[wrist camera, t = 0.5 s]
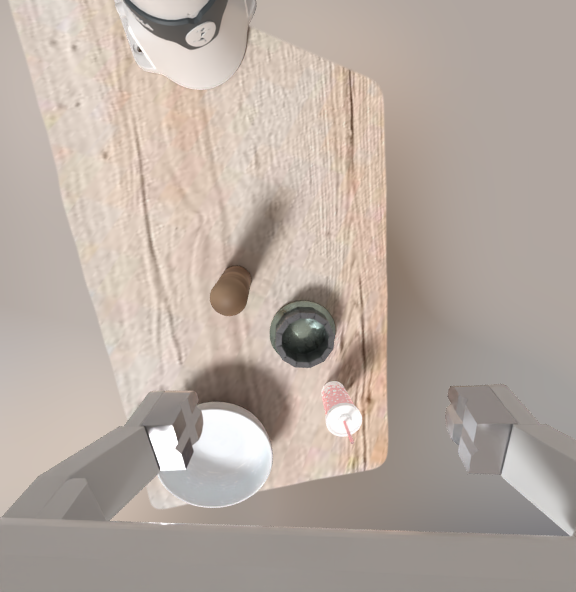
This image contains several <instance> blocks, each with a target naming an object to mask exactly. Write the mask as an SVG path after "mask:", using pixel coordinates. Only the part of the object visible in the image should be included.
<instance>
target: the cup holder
mask: <svg viewBox="0 0 576 592" xmlns="http://www.w3.org/2000/svg"><path fill="white" fill-rule="evenodd" d="M335 332H336V330H335V324H334V321H333V318H332V317H331V315H330V313H329V312H328V311H327V310H326V309H325V308H324V307H323V306H321V305H319V304H317V303H315V302H311V301H296V302H292V303H290V304H288V305H286V306H284V307H283V308H281V309H280V310H279V311H278V312H277V314H276V315H275V316H274V318H273V320H272V322H271V326H270V340H271V343H272V346H273V348H274V349H275V351H276V352H277V353H278V354H279V355H280V356H281V358H282V360H284V361H285V362H287V363H289V364H290V365H292V366H294V367H303V368H310V367H313V366H315V365H317V364H319V363H321V362H324V361H325V360H326V358H327V357H328V356H329V354H330V353H331V351H332V350H333V347H334V339H335Z"/></svg>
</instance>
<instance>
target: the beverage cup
mask: <svg viewBox="0 0 576 592" xmlns="http://www.w3.org/2000/svg"><path fill="white" fill-rule="evenodd" d="M322 398H323V403H324V408H325V414H326V426H327V428H328V430H329V431H330V432H331V433H332V434H334V435H337V436H340V437H342V436H348V437H349V440H350V442H351V444H353V443H354V442H353V439H352V436H351V434H353V433H355V432H356V431H357V430H358V429H359V428H360V426H361V423H362V416H361V414H360V411H359V410H358V408H357V407H356V406H355V405H354V404H353V402H352V400H351V398H350V397H349V395H348V393H347V391H346V390H345V388H344V386H343V385H342V384H341V383H340V382H337V381H330V382H328V383H326V384H325V385H324V386H323V388H322Z"/></svg>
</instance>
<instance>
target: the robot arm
mask: <svg viewBox="0 0 576 592" xmlns="http://www.w3.org/2000/svg"><path fill="white" fill-rule="evenodd" d="M114 1H115V6H116V9H117V11H118V13H119V15H120V18H121V21H122V24H123V27H124V30H125V33H126V36H127V39H128V42H129V44H130V47H131V50H132V53H133V56H134V59H135V61H136V63H137V65H138V66H139V67H140V68H141V69H142V70H144V71H147V72H151V73H158V74H162V75H164V76H165V77H167V78H169V79H170V80H172V81H173V82H175V83H177V84H179V85H181V86H183V87H186V88H190V89H196V90H204V89H210V88H214V87H216V86H219V85H221V84H222V83H224V82H225V81H227V80H228V79H229V78H230V77H231V76H232V75H233V74H234V73H235V72H236V70H237V69H238V67H239V65H240V63H241V61H242V59H243V56H244V53H245V49H246V43H247V31H248V26H249V23H250V21H251V19H252V17H253V15H254V13H255V10H256V0H114ZM139 49H141V50H142V52H139ZM448 399H449V400H450V402H451V404H450V405H449V406H448V407H447V408H446V414H445V419H446V426H447V430H448V433H449V435H450V437H451V439H452V441H454V442H455V443H456V444H458V445H459V451H458V454H459V456H460V458H461V460H462V462H463V464H464V466H465V468H466V470H467V472H468V473H469V474H495V475H501V476H502V478H504V479H505V480H506V481H507V482H508V483H509V484H511V485H512V486H513V487H514V488H515V489H517V490H518V491H519V492H520V493H521V494H522V495H524V496H525V497H526V498H527V499H528V500H529V501H530V502H532V503H533V504H534V505H535V506H536V507H537V508H538V509H540V510H541V511H542V512H543V513H544V514H546V515H547V516H548V517H549V518H550V519H551V520H552V521H554V522H555V523H556V524H557V525H558V526H560V527H561V528H562V529H563V530H564V531H565V532H566V533H568V534H569V535H570V536H544V535H514V534H485V533H455V532H453V533H452V532H424V531H393V530H362V529H333V528H301V527H274V526H273V527H272V526H244V525H243V526H242V525H241V526H240V525H213V524H212V525H211V524H184V523H154V522H153V523H152V522H122V521H110V519H112V518H113V517H114V516H115V515H116V514H117V513H118V512H119V511H120V510H121V509H122V508H123V507H124V506H125V505H126V504H127V503H128V502H129V501H130V500H131V499H132V498H134V496H135V495H137V494H138V493H139V492H140V491H141V490H142V489H143V488H144V487H145V486H146V485H147V484H148V483H149V482H150V481H151V480H152V479H153V478H154V477H155V476H156V475H157V474H158V473H159V472H160V470H186V469H187V466H188V464H189V462H190V459H191V457H192V455H193V453H194V450H193V447H192V445H194V444H195V443H196V442H197V441H198V440H199V439H200V436H201V434H202V429H203V414H202V411H201V410H200V409H199V408H198V407H197V406H196V405H197V403H198V401H199V399H198V395H197V392H195V391H151V392H149V393H148V394H147V396H146V397H145V398H144V400H143V401H142V403H141V404H140V405H139V407H138V408H137V409H136V411H135V412H134V413H133V415H132V416H131V417H130V419H129V420H128V421H127V423H126V424H125V425H124V426H119V427H117V428H116V429H114V430H113V431H111V432H109V433H108V434H106V435H105V436H103V437H101V438H100V439H98V440H96V441H95V442H93V443H92V444H90V445H89V446H87V447H85V448H84V449H82V450H80V451H79V452H77V453H76V454H74V455H72V456H70V457H69V458H67V459H66V460H64V461H62V462H61V463H59V464H57V465H56V466H54V467H53V468H51V469H49V470H48V471H46V472H44V473H43V474H41V475H40V476H38V477H37V478H36V480H35V481H34V482H33V483H32V484H31V485H30V486H29V487H28V489H26V491H25V492H24V493H23V494H22V495H21V496H20V497H19V498H18V499H17V500H16V502H15V503H14V504H13V505H12V506H11V507H10V508H9V510H7V512H6V513H5V514H4V515H3V516H2V517H0V592H576V440H575V439H573V438H571V437H569V436H568V435H566V434H564V433H562V432H560V431H558V430H556V429H554V428H552V427H551V426H549V425H547V424H540V423H539V422H538V421H537V420H536V419H535V417H534V416H533V415H532V414H531V413H530V412H529V410H528V409H527V408H526V407H525V406H524V405H523V404H522V403H521V401H520V400H519V399H518V398H517V397H516V396H515V394H514V393H513V392H512V391H511V390H510V389H509V388H508V387H507V386H506V385H504V384H494V385H476V386H450V388H449V390H448Z"/></svg>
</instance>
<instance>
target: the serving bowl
mask: <svg viewBox="0 0 576 592" xmlns="http://www.w3.org/2000/svg"><path fill="white" fill-rule="evenodd" d="M196 406H197V407H198V408H199V409H200V410H201V411H202V414H203V429H202V434H201V436H200V439H199V440H198V441H197V442H196V443H195V444H194V445H192V447H193V450H194V453H193V455H192V457H191V459H190V462H189V464H188V466H187V469H186V470H160V472H159V473H158V474H157V475H158V478H159V479H160V481H161V483H162V484H163V485H164V487H165V488H166V489H167V490H168V491H169V492H170V493H172V494H173V495H174V496H175V497H177V498H178V499H180V500H182V501H184V502H186V503H189V504H192V505H195V506H200V507H209V508H210V507H211V508H217V507H226V506H230V505H233V504H237V503H239V502H242V501H244V500H246V499H247V498H249V497H250V496H252V495H253V494H255V493H256V492H257V491H258V490H259V489H260V488H261V487H262V486H263V484H264V483H265V481H266V480H267V478H268V476H269V474H270V471H271V468H272V462H273V452H272V446H271V442H270V439H269V436H268V434H267V432H266V430H265V428H264V426H263V425H262V423H261V422H260V421H259V420H258V419H257V418H256V417H255V416H254V415H253V414H252V413H251V412H249V411H248V410H246V409H244V408H242V407H240V406H237V405H235V404H231V403H226V402H207V403H202V404H198V405H196Z"/></svg>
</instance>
